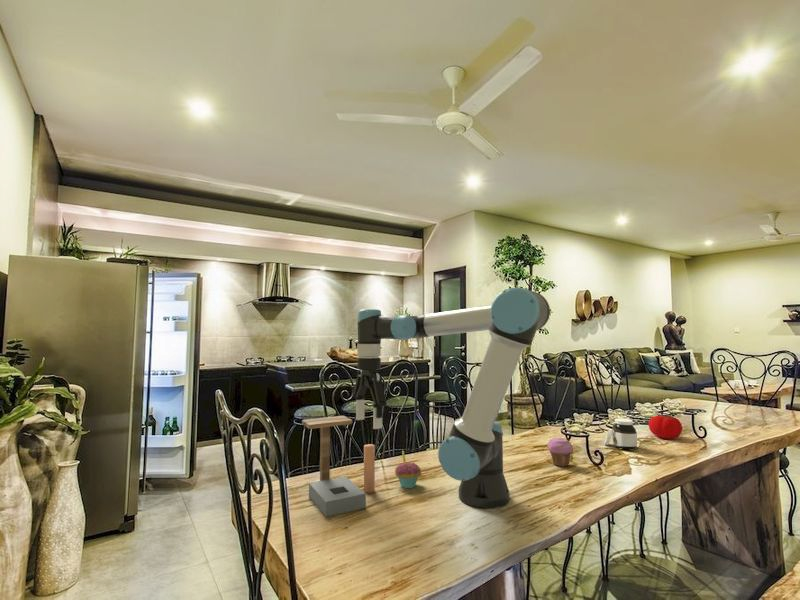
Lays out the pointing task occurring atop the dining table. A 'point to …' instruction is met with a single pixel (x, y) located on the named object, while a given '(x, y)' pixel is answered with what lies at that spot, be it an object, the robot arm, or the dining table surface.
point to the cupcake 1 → (407, 473)
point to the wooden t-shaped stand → (325, 439)
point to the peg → (369, 468)
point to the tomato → (665, 426)
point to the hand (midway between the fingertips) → (368, 423)
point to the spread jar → (623, 434)
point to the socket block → (337, 496)
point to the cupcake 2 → (560, 451)
